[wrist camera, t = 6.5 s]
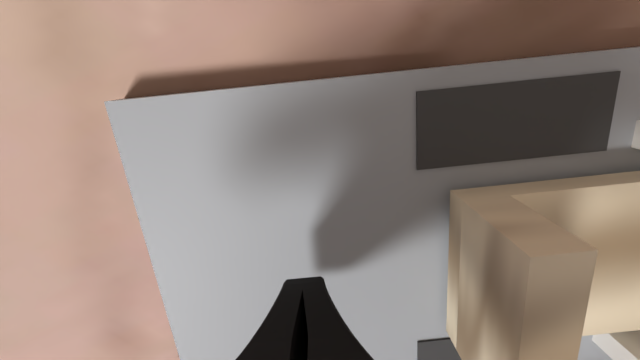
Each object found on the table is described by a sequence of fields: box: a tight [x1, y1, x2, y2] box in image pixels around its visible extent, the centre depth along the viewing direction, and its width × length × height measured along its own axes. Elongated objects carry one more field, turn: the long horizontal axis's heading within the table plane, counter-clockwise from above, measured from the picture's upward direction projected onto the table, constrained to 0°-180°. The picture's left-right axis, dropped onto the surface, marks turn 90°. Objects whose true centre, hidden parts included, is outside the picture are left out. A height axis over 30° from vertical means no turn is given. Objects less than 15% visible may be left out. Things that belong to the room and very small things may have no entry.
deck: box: [104, 46, 640, 360], centre depth 14 cm, size 15×34×1 cm, turn 95°
